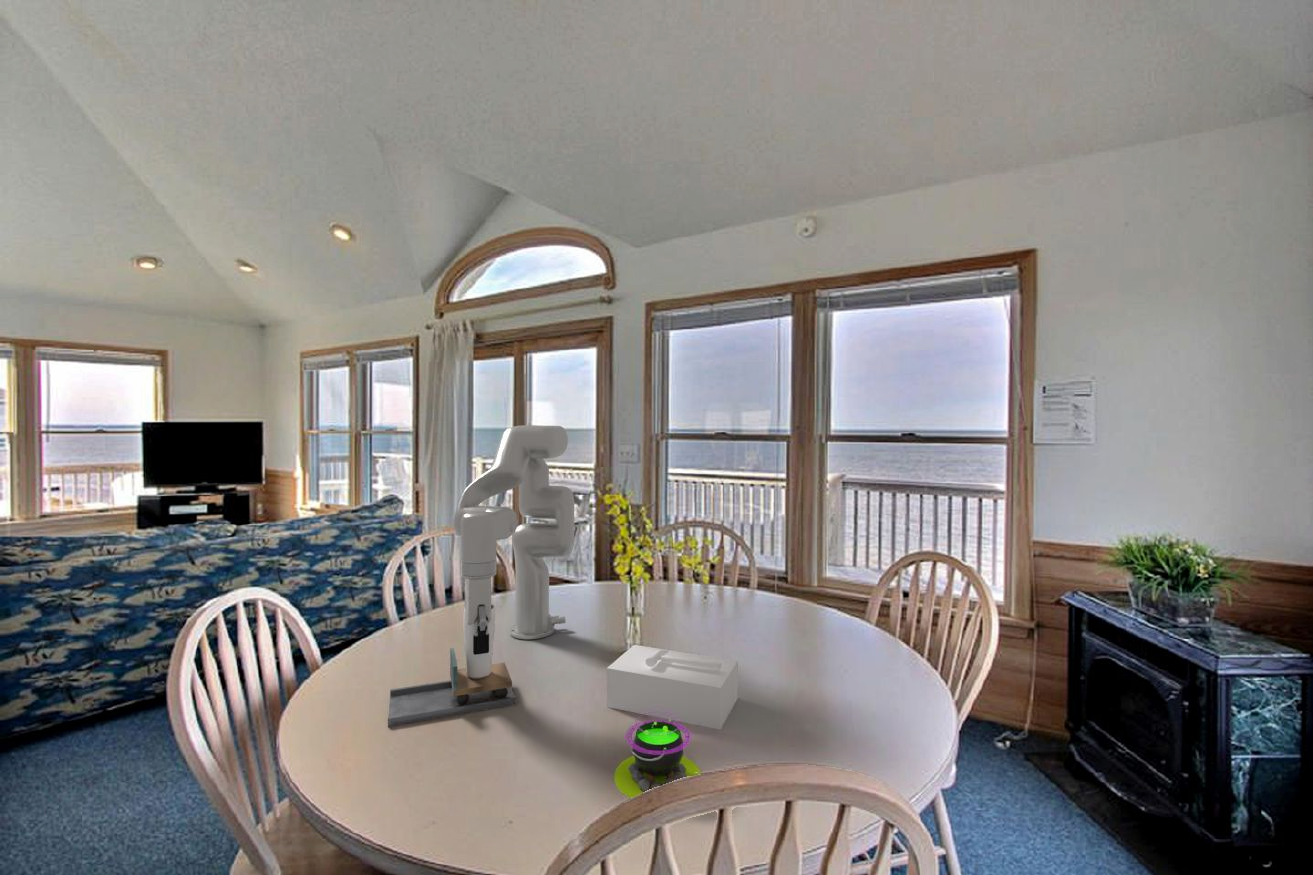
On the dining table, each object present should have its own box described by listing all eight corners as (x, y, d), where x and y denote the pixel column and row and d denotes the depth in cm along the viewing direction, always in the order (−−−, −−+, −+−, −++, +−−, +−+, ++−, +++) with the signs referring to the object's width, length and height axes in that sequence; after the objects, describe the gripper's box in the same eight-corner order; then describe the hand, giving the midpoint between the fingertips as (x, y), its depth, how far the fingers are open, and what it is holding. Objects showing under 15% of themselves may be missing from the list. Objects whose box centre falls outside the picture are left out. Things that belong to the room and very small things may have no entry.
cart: (504, 677, 137) (504, 641, 137) (511, 697, 127) (512, 658, 126) (450, 686, 132) (450, 648, 132) (453, 707, 122) (453, 666, 122)
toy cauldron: (607, 758, 106) (607, 698, 105) (686, 747, 109) (687, 689, 109) (623, 811, 91) (623, 741, 91) (714, 797, 95) (714, 729, 95)
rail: (506, 678, 138) (506, 671, 138) (516, 704, 125) (516, 697, 125) (390, 696, 129) (390, 689, 129) (387, 726, 116) (387, 718, 116)
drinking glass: (499, 668, 133) (499, 603, 133) (487, 681, 126) (488, 612, 126) (470, 667, 134) (471, 602, 133) (457, 680, 127) (457, 611, 127)
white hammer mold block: (633, 680, 138) (634, 634, 138) (737, 699, 129) (738, 650, 129) (606, 708, 125) (606, 657, 125) (720, 730, 116) (720, 676, 116)
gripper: (458, 561, 135) (458, 634, 136) (464, 579, 119) (464, 662, 120) (491, 558, 138) (491, 630, 138) (501, 575, 122) (501, 657, 123)
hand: (478, 645), depth 129 cm, fingers open, 9 cm apart
